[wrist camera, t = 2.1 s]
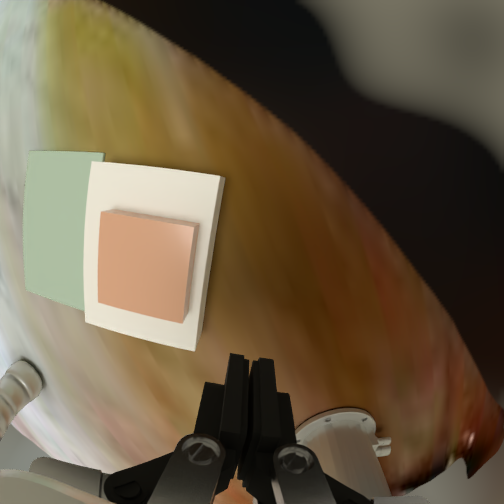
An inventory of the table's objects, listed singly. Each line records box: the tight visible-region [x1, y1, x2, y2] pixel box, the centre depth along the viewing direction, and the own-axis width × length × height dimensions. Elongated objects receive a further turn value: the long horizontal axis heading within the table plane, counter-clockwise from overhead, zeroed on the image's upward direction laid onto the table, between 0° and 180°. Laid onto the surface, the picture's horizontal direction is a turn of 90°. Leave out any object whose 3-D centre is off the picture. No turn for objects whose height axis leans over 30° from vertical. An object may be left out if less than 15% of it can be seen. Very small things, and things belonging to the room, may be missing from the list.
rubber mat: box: [23, 151, 105, 311], centre depth 27 cm, size 12×18×1 cm, turn 170°
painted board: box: [83, 161, 225, 351], centre depth 25 cm, size 12×16×4 cm
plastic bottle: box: [0, 361, 42, 441], centre depth 22 cm, size 6×7×20 cm
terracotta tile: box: [98, 209, 200, 324], centre depth 22 cm, size 8×8×2 cm
